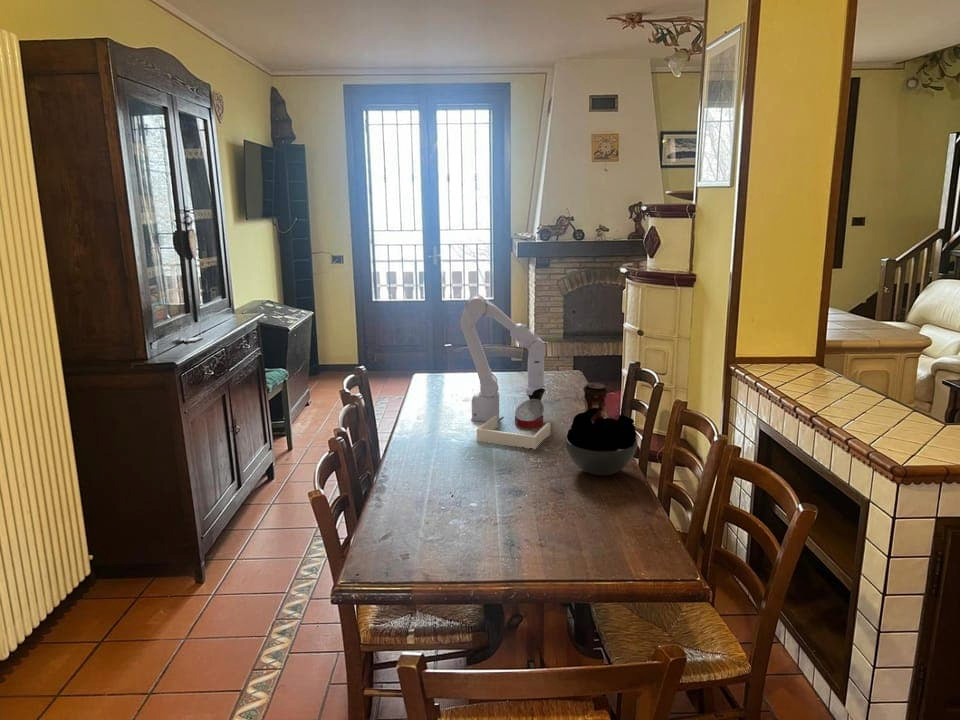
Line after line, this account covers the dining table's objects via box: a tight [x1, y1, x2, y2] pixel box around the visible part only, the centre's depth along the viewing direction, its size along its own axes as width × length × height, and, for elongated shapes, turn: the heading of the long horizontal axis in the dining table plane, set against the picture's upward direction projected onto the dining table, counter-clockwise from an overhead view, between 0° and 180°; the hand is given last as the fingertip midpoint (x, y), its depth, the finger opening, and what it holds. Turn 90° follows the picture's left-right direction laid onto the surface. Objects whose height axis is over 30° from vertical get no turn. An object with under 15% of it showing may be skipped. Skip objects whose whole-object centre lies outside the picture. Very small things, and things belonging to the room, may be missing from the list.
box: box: [476, 416, 551, 450], centre depth 220 cm, size 20×15×4 cm
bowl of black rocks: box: [564, 408, 638, 476], centre depth 190 cm, size 20×20×19 cm
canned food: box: [514, 398, 545, 430], centre depth 233 cm, size 11×10×10 cm
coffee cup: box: [582, 382, 609, 423], centre depth 235 cm, size 9×8×13 cm
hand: (535, 409), depth 239 cm, fingers closed
